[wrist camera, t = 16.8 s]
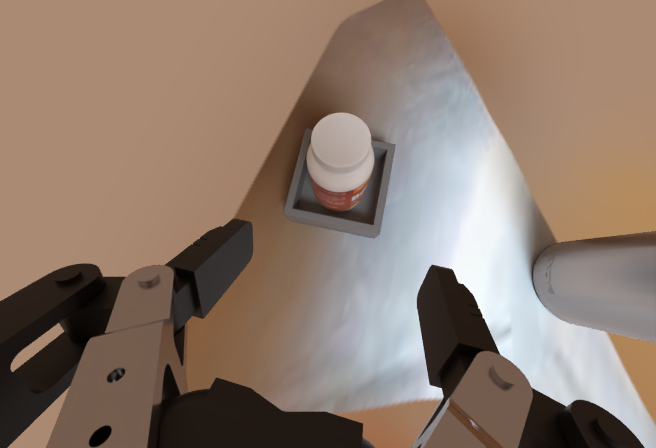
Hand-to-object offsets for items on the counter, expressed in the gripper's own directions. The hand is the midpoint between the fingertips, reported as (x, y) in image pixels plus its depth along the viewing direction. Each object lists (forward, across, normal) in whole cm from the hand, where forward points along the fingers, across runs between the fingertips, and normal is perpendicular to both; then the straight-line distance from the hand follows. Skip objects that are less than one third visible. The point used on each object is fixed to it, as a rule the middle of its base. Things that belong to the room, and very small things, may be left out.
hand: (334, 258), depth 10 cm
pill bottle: (+19, +2, +4) cm, 19 cm away
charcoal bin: (+20, +2, +4) cm, 20 cm away
